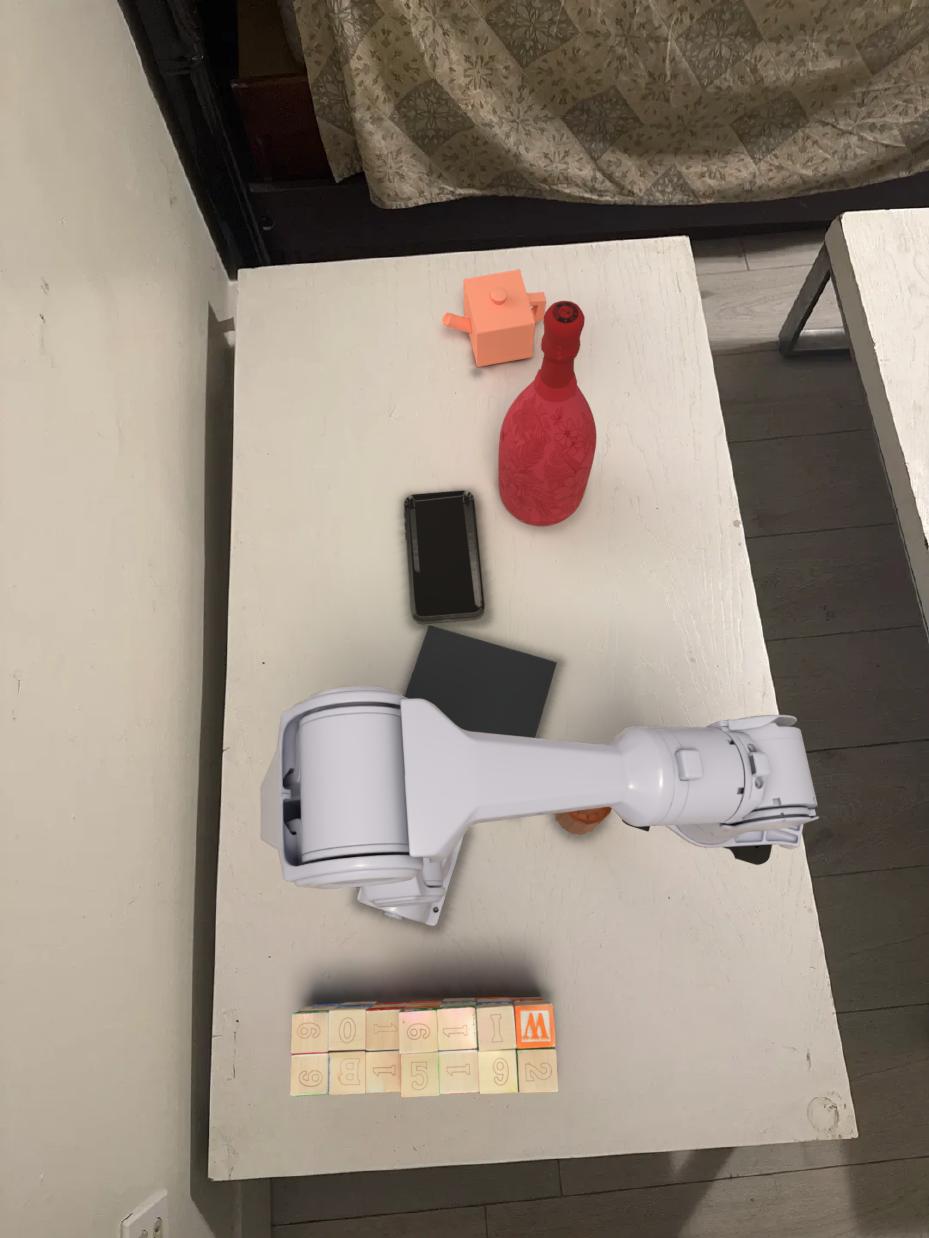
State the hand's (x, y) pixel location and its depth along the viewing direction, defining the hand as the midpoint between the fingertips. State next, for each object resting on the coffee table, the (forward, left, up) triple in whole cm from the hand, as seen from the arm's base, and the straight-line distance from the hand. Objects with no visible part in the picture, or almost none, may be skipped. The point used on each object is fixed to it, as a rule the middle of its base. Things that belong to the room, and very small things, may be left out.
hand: (680, 821), depth 75 cm
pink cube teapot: (+51, +32, -11) cm, 61 cm away
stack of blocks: (-24, +16, -11) cm, 30 cm away
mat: (+6, +21, -10) cm, 24 cm away
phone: (+22, +29, -10) cm, 38 cm away
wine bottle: (+33, +21, -11) cm, 41 cm away
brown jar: (0, +8, -10) cm, 13 cm away
